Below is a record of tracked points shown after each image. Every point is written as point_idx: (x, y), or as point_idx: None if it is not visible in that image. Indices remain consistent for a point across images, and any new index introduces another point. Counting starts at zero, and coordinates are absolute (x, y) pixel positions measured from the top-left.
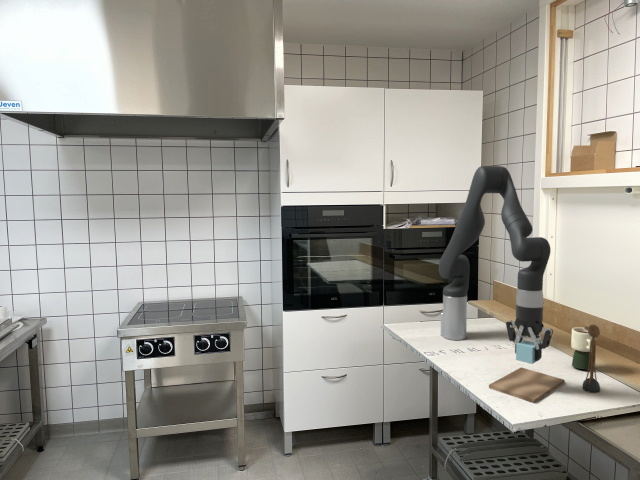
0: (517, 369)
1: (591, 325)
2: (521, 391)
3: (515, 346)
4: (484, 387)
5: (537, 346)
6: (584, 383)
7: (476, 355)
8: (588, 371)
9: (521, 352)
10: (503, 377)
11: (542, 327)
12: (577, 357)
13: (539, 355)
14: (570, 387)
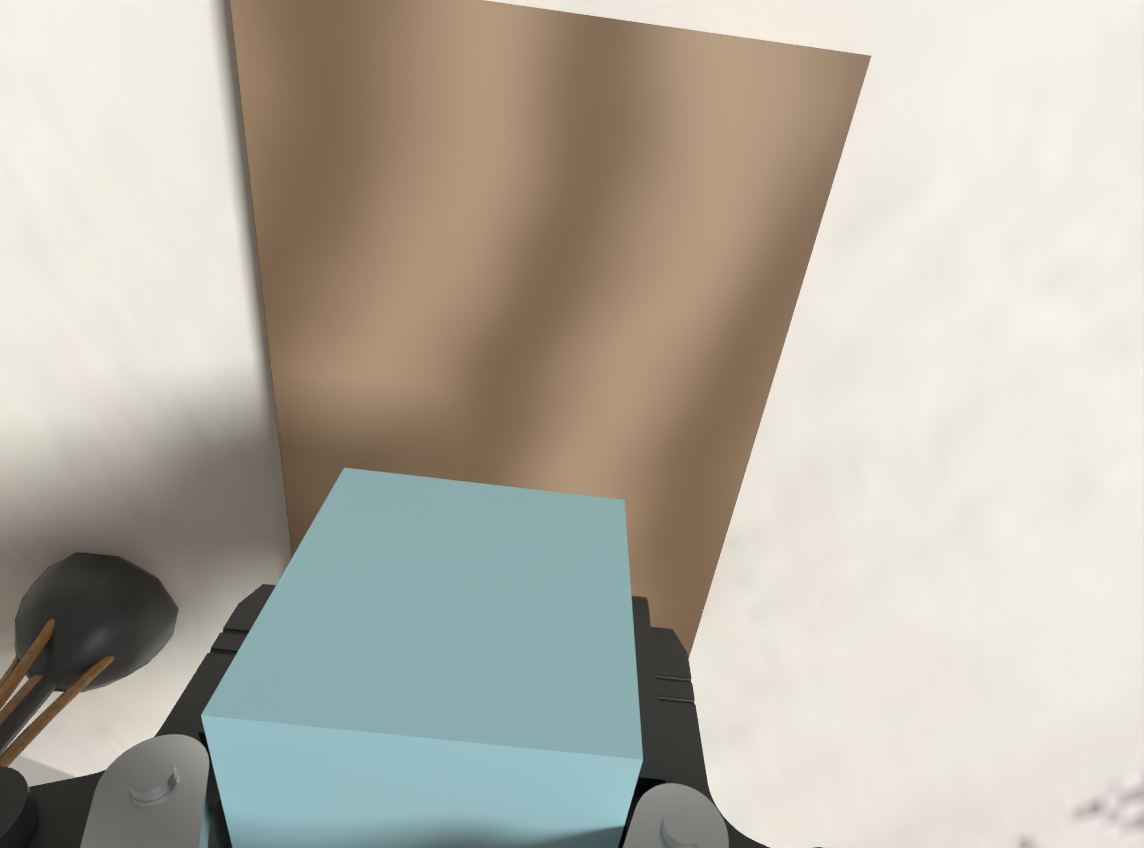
0: (696, 622)
1: None
2: (457, 125)
3: (693, 746)
4: (911, 33)
5: (130, 806)
6: (110, 616)
7: (1102, 727)
8: (26, 729)
9: (517, 601)
10: (762, 385)
11: None
12: None
13: (213, 644)
14: (233, 559)
